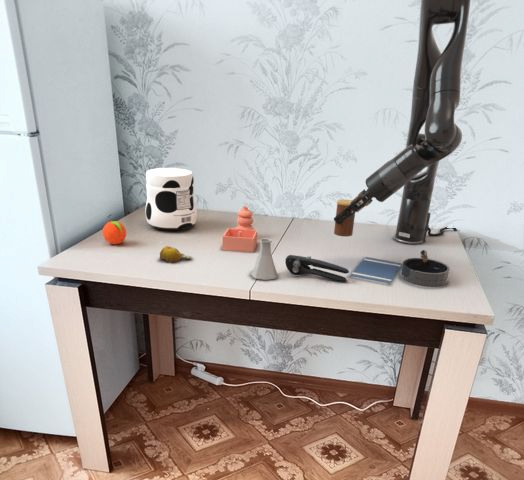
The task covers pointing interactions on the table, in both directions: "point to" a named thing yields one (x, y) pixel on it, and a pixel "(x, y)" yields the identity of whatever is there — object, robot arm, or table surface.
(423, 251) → the pan handle
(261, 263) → the flask
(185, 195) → the milk container
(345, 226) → the chocolate tin
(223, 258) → the table surface
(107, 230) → the clementine
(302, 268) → the can opener
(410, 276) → the pan
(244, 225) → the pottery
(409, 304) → the table surface
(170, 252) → the fruit
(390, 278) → the tea towel
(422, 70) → the robot arm
